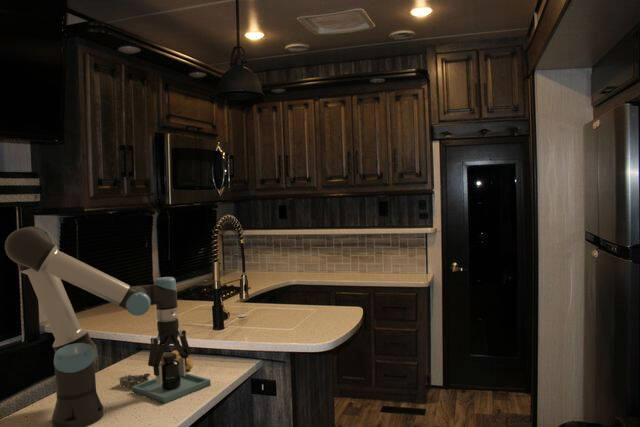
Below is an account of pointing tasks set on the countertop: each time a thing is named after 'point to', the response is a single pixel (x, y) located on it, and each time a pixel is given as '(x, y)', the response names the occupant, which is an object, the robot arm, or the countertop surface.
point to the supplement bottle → (170, 372)
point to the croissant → (188, 360)
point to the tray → (165, 396)
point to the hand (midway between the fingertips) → (171, 379)
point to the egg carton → (133, 380)
